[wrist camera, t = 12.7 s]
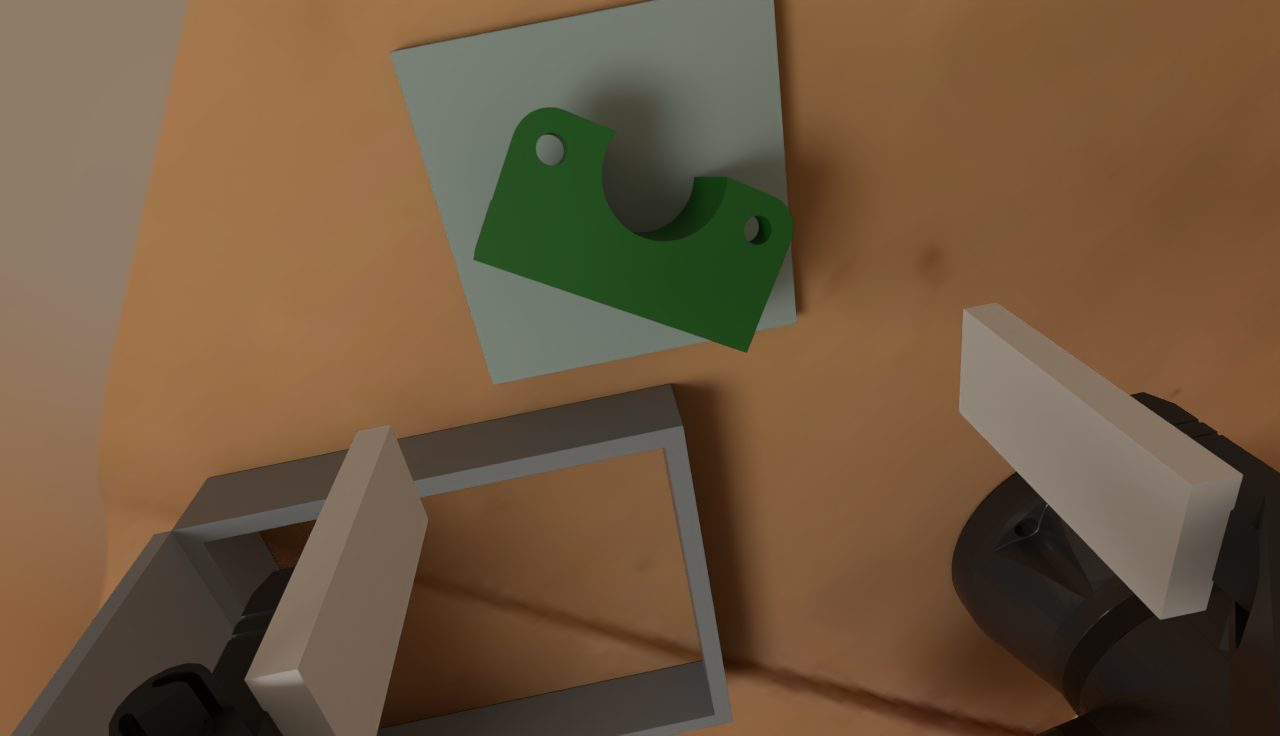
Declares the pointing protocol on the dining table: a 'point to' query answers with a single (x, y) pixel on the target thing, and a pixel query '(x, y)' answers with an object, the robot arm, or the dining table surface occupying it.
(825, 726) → the dining table surface
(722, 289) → the clamp
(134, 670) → the case
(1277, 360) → the dining table surface
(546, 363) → the mat
